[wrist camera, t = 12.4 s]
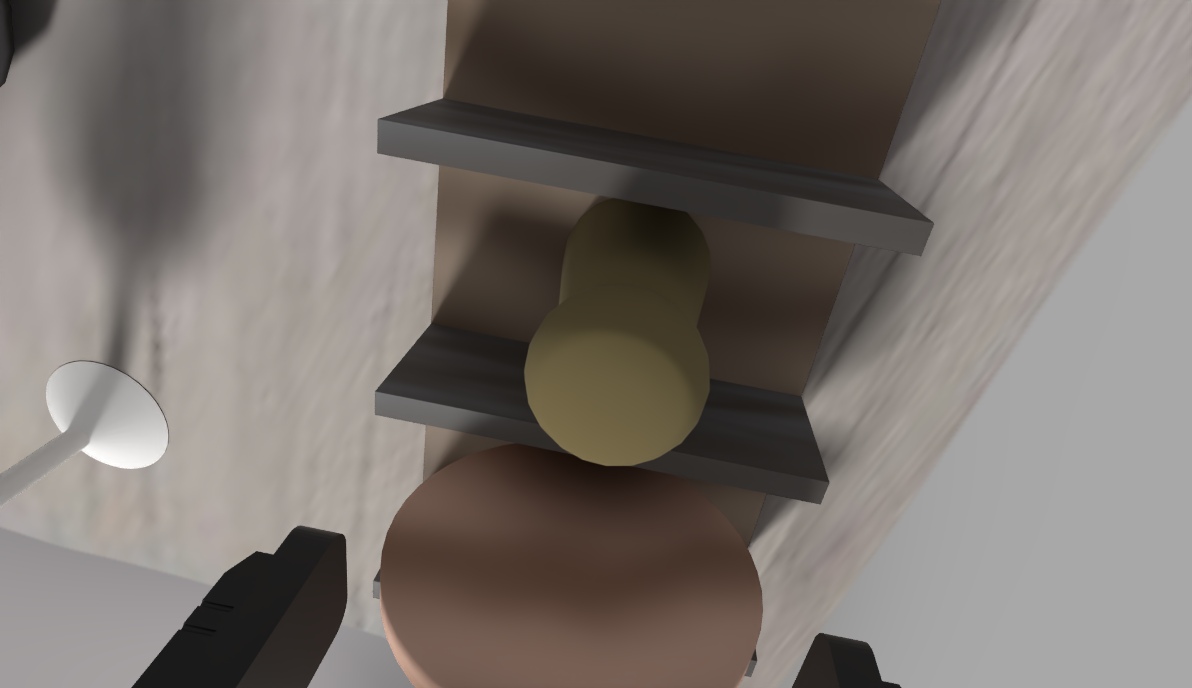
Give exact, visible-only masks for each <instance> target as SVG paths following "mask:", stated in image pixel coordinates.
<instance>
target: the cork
mask: <svg viewBox="0 0 1192 688" xmlns="http://www.w3.org/2000/svg"><path fill="white" fill-rule="evenodd" d="M709 278H710V251H709V248H708V246H707V243H706V240H705V237H704V235H703V232H702V230H701V229H700V228H699V226H698V225H697V224H696V223H695V222H694V220H693V219H692V218H691V217H690V215H689V214H688V213H687V212H685V211H680V210H675V209H670V208H664V207H659V206H654V205H649V204H643V203H638V202H633V201H627V200H622V199H617V198H611V199H608V200H606V201H603V202H601V203H598V204H596V205H595V206H594V207H593V208H592V209H590V210H589V211H588V212H587V213H586V214H585V215H583V216H582V217H581V218H580V219H579V220H578V222H577V223H576V225H575V227H574V228H573V230H572V232H571V233H570V235H569V237H568V238H567V243H566V248H565V252H564V257H563V264H562V275H561V286H560V297H559V305H558V306H557V307H556V308H554V309H553V310H552V311H551V312H549V313H548V314H547V316H546V317H545V319H544V320H543V322H542V324H541V325H540V327H539V328H538V330H537V332H536V333H535V335H534V337H533V339H532V340H531V342H530V344H529V349H528V354H527V359H526V364H525V369H524V374H525V384H526V391H527V397H528V404H529V406H530V408H531V410H532V411H533V413H534V415H535V417H536V419H537V421H538V423H539V425H540V426H541V427H542V429H543V430H544V431H545V432H546V433H547V434H548V435H549V436H550V437H551V438H552V439H553V440H554V441H555V442H556V443H557V444H558V445H559V446H560V447H561V448H563V449H564V450H566V451H568V452H570V453H572V454H573V455H575V456H577V457H579V458H581V459H582V460H585V461H589V462H593V463H597V464H601V465H605V466H632V465H636V464H639V463H643V462H646V461H650V460H654V459H656V458H658V457H660V456H662V455H663V454H665V453H666V452H668V451H670V450H671V449H673V448H674V447H676V446H678V445H679V444H681V443H682V442H683V441H684V439H685V438H686V437H687V436H688V434H689V433H690V432H691V431H692V430H693V428H694V427H695V426H696V425H697V423H698V421H699V419H700V416H701V414H702V411H703V408H704V406H705V403H706V400H707V397H708V394H709V392H710V379H709V359H708V354H707V351H706V349H705V346H704V343H703V341H702V338H701V336H700V333H699V331H698V329H697V328H696V327H697V324H698V320H699V316H700V312H701V308H702V305H703V301H704V297H705V293H706V290H707V286H708V282H709Z"/></svg>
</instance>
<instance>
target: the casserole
mask: <svg viewBox="0 0 1192 688" xmlns="http://www.w3.org/2000/svg"><path fill="white" fill-rule="evenodd" d="M13 53H14V39H13V27H12V15H11V6H10V2H9V0H0V87H1V86H2V85H3V84H4V83H5V82H6V78H7V75H8V71H9V68H10V64H11V61H12V57H13Z"/></svg>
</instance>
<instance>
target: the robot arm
mask: <svg viewBox="0 0 1192 688" xmlns="http://www.w3.org/2000/svg"><path fill="white" fill-rule="evenodd" d="M346 604H347V561H346V539H345V536H344V535H343V534H340V533H335V532H330V531H325V530H320V529H315V528H310V527H305V526H297V527H296V528H294V529H293V530H292V531H291V532H290V534H289V535H288V536H287V537H286V539H285V540H284V541H283V543H282V544H281V545H280V547H279V548H278V549H277V551H276V552H275V553H274V555H273V554H268V553H263V552H258V551H256V552H255V553H253V554H252V555H250V556H249V557H247V558H246V559H244V560H243V561H241V562H240V563H238V564H237V565H235V566H234V567H232V568H231V569H229V570H228V571H226V572H225V573H224V574H223V576H222V577H221V578H220V579H219V580H218V582H217V583H216V584H215V585H214V587H213V588H212V589H211V590H210V592H209V593H208V594H207V595H206V597H205V598H204V599H203V600H202V604H201V606H197V608H196V609H195V610H194V611H193V613H192V614H191V615H190V616H189V618H188V619H187V620H186V621H185V623H184V625H183V628H182V629H181V630H178V631H177V632H176V634H175V635H174V636H173V637H172V639H171V640H170V641H169V642H168V643H167V645H166V646H165V647H164V648H163V650H162V651H161V652H160V653H159V655H158V656H157V657H156V658H155V659H154V661H153V662H152V663H151V664H150V666H149V667H148V668H147V669H146V671H145V672H144V673H143V674H142V675H141V677H140V678H139V679H138V680H137V682H136V683H135V684H134V685H133V686H132V688H307V687H308V685H309V683H310V681H311V680H312V678H313V676H314V674H315V672H316V671H317V669H318V667H319V665H320V663H321V661H322V659H323V658H324V656H325V654H326V652H327V651H328V649H329V647H330V645H331V643H332V642H333V640H334V638H335V636H336V634H337V632H338V630H339V627H340V625H341V622H342V619H343V616H344V613H345V609H346ZM792 688H901V687H900V685H898V684H894V683H889V682H883V681H882V680H881V676H880V673H879V670H878V667H877V663H876V660H875V657H874V654H873V651H872V649H871V647H870V646H869V644H868V643H866V642H863V641H858V640H853V639H848V638H843V637H838V636H833V635H828V634H824V633H819V634H818V635H817V636H816V637H815V639H814V641H813V643H812V645H811V647H810V649H809V652H808V654H807V656H806V658H805V660H804V662H803V665H802V667H801V669H800V672H799V673H798V676H797V678H796V680H795V682H794V684H793V686H792Z"/></svg>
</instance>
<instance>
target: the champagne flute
mask: <svg viewBox="0 0 1192 688" xmlns="http://www.w3.org/2000/svg"><path fill="white" fill-rule="evenodd" d="M46 401H47V405H48V409H49V411H50V413H51V416H52V418H53V420H54V422H55V423H56V425H57V426H58V428H59V429H60V431H61V432H62V434H60V435H59V436H57V437H56V438H54V439H53V440H51V441H50V442H48V443H47V444H45V445H44V446H42V447H41V448H39V449H38V450H36V451H35V452H33V453H32V454H30V455H29V456H27V457H26V458H24V459H23V460H21V461H20V462H18V463H17V464H15V465H14V466H12V467H11V468H9V469H8V470H6V471H5V472H3V473H2V474H0V508H1V507H2V506H4V505H5V504H6V503H8V502H9V501H11V500H12V499H13V498H15V497H16V496H18V495H19V494H20V493H22V492H23V491H25V490H26V489H27V488H29V487H30V486H32V485H33V484H34V483H36V482H37V481H39V480H40V479H41V478H43V477H44V476H46V475H47V474H48V473H50V472H51V471H53V470H54V469H55V468H57V467H58V466H60V465H61V464H62V463H64V462H65V461H67V460H68V459H69V458H71V457H72V456H74V455H75V454H76V453H78V452H79V451H83V452H84V453H86V454H87V455H89V456H91V457H93V458H94V459H96V460H98V461H100V462H103V463H106V464H108V465H111V466H116V467H120V468H131V469H135V468H142V467H146V466H149V465H151V464H153V463H155V462H156V461H157V460H159V459H160V458H161V456H162V455H163V454H164V452H165V450H166V447H167V445H168V428H167V423H166V421H165V418H164V415H163V413H162V411H161V410H160V408H159V406H158V405H157V403H156V402H155V400H154V399H153V398H152V397H151V395H150V394H149V393H148V392H147V391H146V390H145V389H144V388H143V387H142V386H141V385H140V384H138V383H137V382H136V381H134V380H133V379H132V378H130V377H129V376H127V375H126V374H124V373H122V372H120V371H118V370H116V369H114V368H111V367H109V366H106V365H103V364H99V363H94V362H85V361H78V362H72V363H68V364H65V365H63V366H61V367H59V368H58V369H57V370H56V371H55V372H53V374H52V375H51V377H50V379H49V380H48V383H47V388H46Z"/></svg>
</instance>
